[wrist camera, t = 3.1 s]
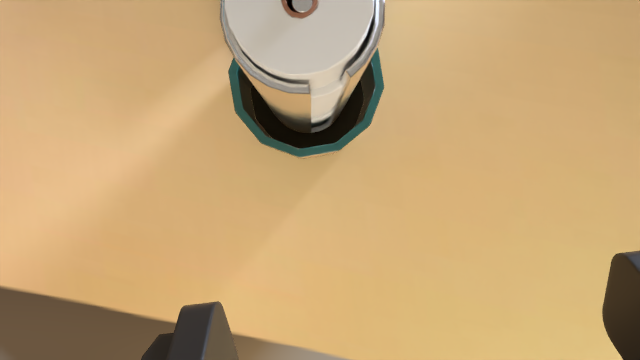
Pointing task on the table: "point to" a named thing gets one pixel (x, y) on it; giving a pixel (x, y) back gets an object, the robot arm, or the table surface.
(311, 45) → the silver metal cylinder
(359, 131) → the cup
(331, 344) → the table surface
